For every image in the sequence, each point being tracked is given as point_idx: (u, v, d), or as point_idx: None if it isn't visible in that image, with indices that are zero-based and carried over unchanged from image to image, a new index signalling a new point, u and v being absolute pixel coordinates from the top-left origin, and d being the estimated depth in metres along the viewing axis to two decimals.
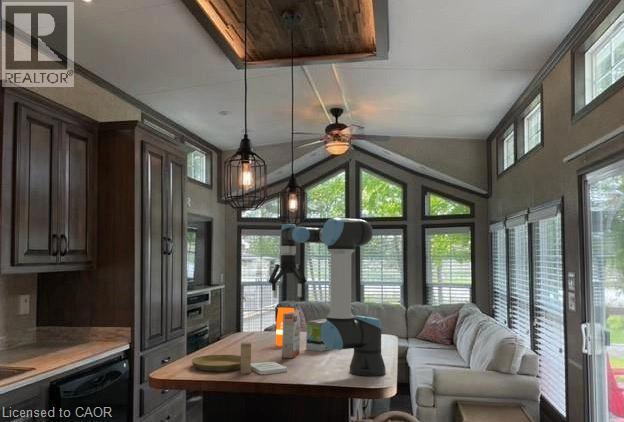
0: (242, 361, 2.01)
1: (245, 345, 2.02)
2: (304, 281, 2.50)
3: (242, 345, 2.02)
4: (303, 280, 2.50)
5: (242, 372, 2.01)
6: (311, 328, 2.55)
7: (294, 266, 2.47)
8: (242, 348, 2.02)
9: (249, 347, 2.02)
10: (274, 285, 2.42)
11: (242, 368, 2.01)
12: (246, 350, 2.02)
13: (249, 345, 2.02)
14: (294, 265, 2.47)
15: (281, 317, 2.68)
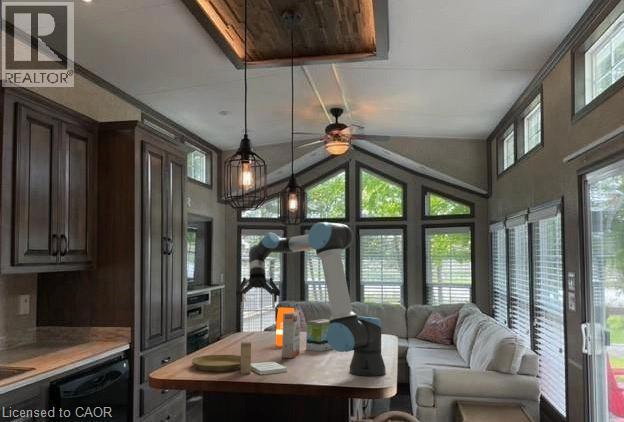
0: (242, 361, 2.01)
1: (245, 345, 2.02)
2: (277, 291, 2.25)
3: (242, 345, 2.02)
4: None
5: (242, 372, 2.01)
6: (311, 328, 2.55)
7: (264, 279, 2.30)
8: (242, 348, 2.02)
9: (249, 347, 2.02)
10: (241, 295, 2.22)
11: (242, 368, 2.01)
12: (246, 350, 2.02)
13: (249, 345, 2.02)
14: (264, 278, 2.31)
15: (281, 317, 2.68)
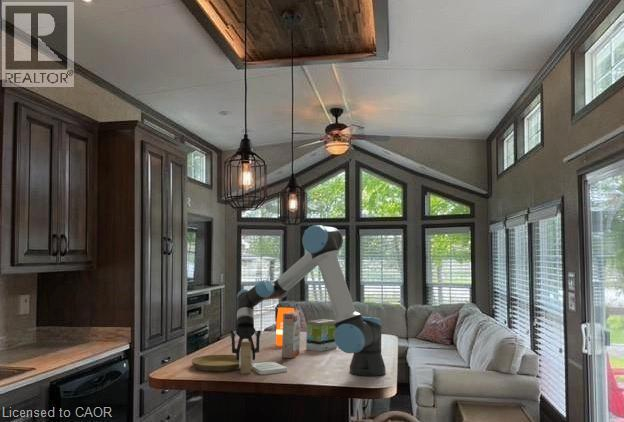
0: (242, 361, 2.01)
1: (245, 345, 2.02)
2: (256, 347, 2.07)
3: (242, 345, 2.02)
4: None
5: (242, 372, 2.01)
6: (311, 328, 2.55)
7: (252, 329, 2.14)
8: (242, 348, 2.02)
9: (249, 347, 2.02)
10: (237, 353, 2.04)
11: (242, 368, 2.01)
12: (246, 350, 2.02)
13: (249, 345, 2.02)
14: (253, 328, 2.14)
15: (281, 317, 2.68)
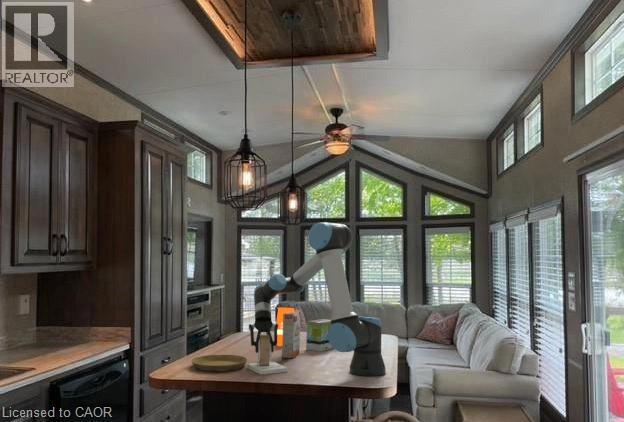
0: (261, 353, 2.09)
1: (264, 338, 2.10)
2: (274, 340, 2.15)
3: (261, 338, 2.10)
4: (274, 340, 2.15)
5: (261, 364, 2.09)
6: (311, 328, 2.55)
7: (270, 323, 2.22)
8: (261, 341, 2.10)
9: (268, 340, 2.10)
10: (257, 345, 2.12)
11: (261, 360, 2.09)
12: (265, 343, 2.10)
13: (268, 338, 2.10)
14: (270, 322, 2.22)
15: (281, 317, 2.68)
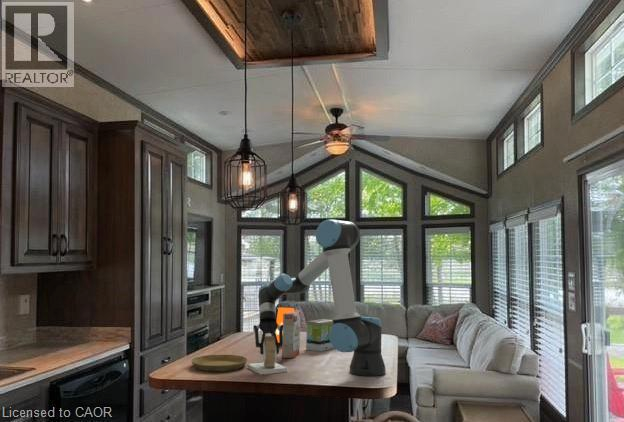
0: (266, 355, 2.05)
1: (269, 339, 2.05)
2: (280, 342, 2.10)
3: (266, 339, 2.05)
4: (279, 342, 2.11)
5: (266, 366, 2.04)
6: (311, 328, 2.55)
7: (275, 324, 2.17)
8: (266, 342, 2.05)
9: (273, 341, 2.06)
10: (262, 347, 2.07)
11: (266, 362, 2.04)
12: (270, 344, 2.05)
13: (273, 339, 2.06)
14: (275, 323, 2.17)
15: (281, 317, 2.68)
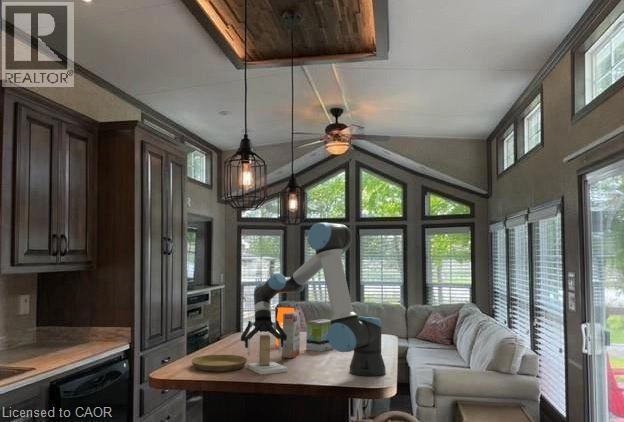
0: (261, 353, 2.09)
1: (264, 338, 2.10)
2: (284, 336, 2.17)
3: (261, 338, 2.10)
4: None
5: (261, 364, 2.09)
6: (311, 328, 2.55)
7: (270, 322, 2.22)
8: (261, 341, 2.10)
9: (268, 340, 2.10)
10: (246, 341, 2.13)
11: (261, 360, 2.09)
12: (265, 343, 2.10)
13: (268, 338, 2.10)
14: (270, 321, 2.23)
15: (281, 317, 2.68)
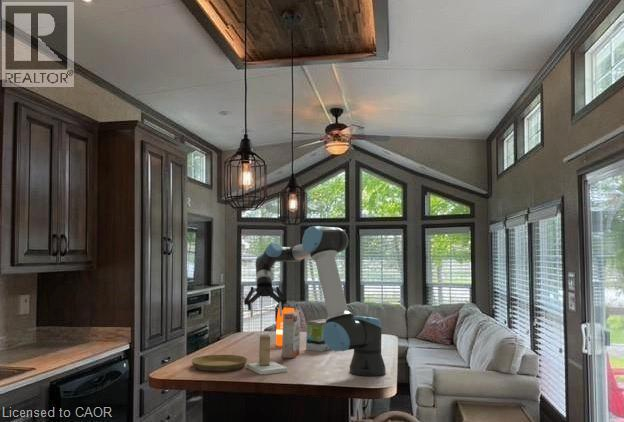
0: (261, 353, 2.09)
1: (264, 338, 2.10)
2: (284, 300, 2.34)
3: (261, 338, 2.10)
4: None
5: (261, 364, 2.09)
6: (311, 328, 2.55)
7: (271, 288, 2.38)
8: (261, 341, 2.10)
9: (268, 340, 2.10)
10: (249, 304, 2.30)
11: (261, 360, 2.09)
12: (265, 343, 2.10)
13: (268, 338, 2.10)
14: (271, 287, 2.39)
15: (281, 317, 2.68)
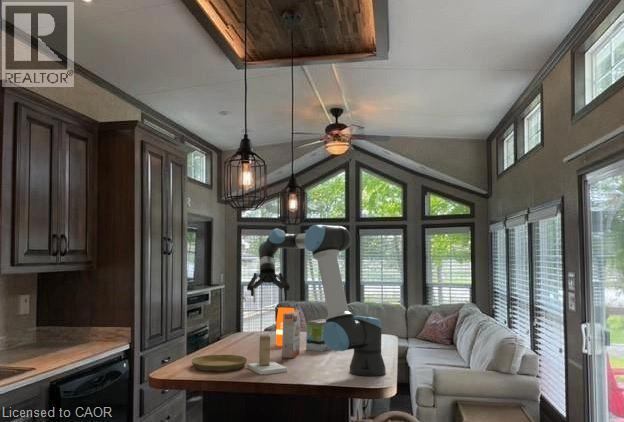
0: (261, 353, 2.09)
1: (264, 338, 2.10)
2: (287, 286, 2.35)
3: (261, 338, 2.10)
4: None
5: (261, 364, 2.09)
6: (311, 328, 2.55)
7: (274, 274, 2.39)
8: (261, 341, 2.10)
9: (268, 340, 2.10)
10: (252, 289, 2.31)
11: (261, 360, 2.09)
12: (265, 343, 2.10)
13: (268, 338, 2.10)
14: (274, 274, 2.40)
15: (281, 317, 2.68)
